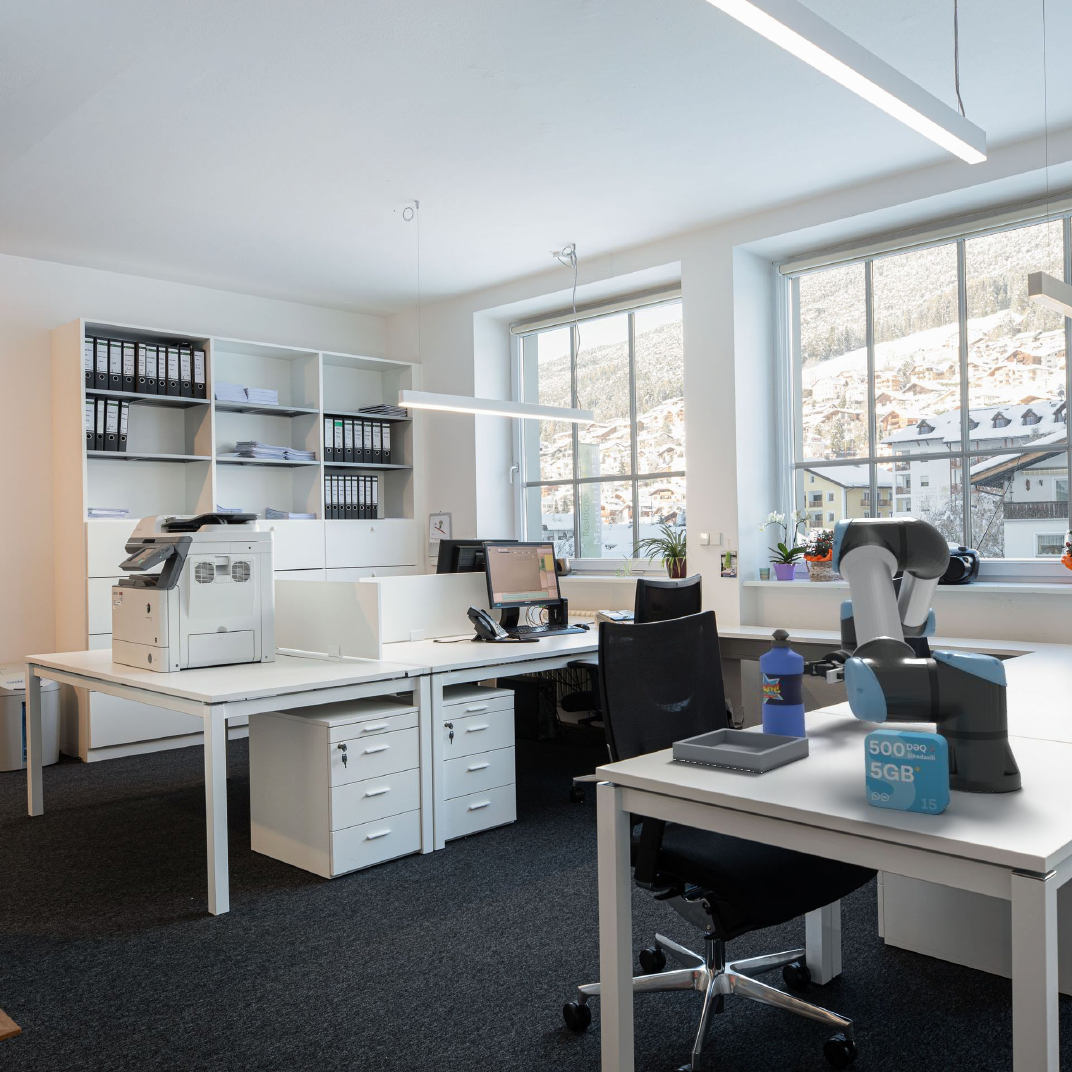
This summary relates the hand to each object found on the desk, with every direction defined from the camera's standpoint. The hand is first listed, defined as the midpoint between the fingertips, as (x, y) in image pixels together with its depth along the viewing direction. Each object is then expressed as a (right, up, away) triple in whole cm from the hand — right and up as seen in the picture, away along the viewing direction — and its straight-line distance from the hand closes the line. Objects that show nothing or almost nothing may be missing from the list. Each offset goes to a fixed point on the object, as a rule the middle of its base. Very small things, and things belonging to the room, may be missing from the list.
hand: (800, 675), depth 211 cm
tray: (-18, -14, -21) cm, 31 cm away
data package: (0, -13, -60) cm, 62 cm away
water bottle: (-5, -14, -7) cm, 17 cm away
